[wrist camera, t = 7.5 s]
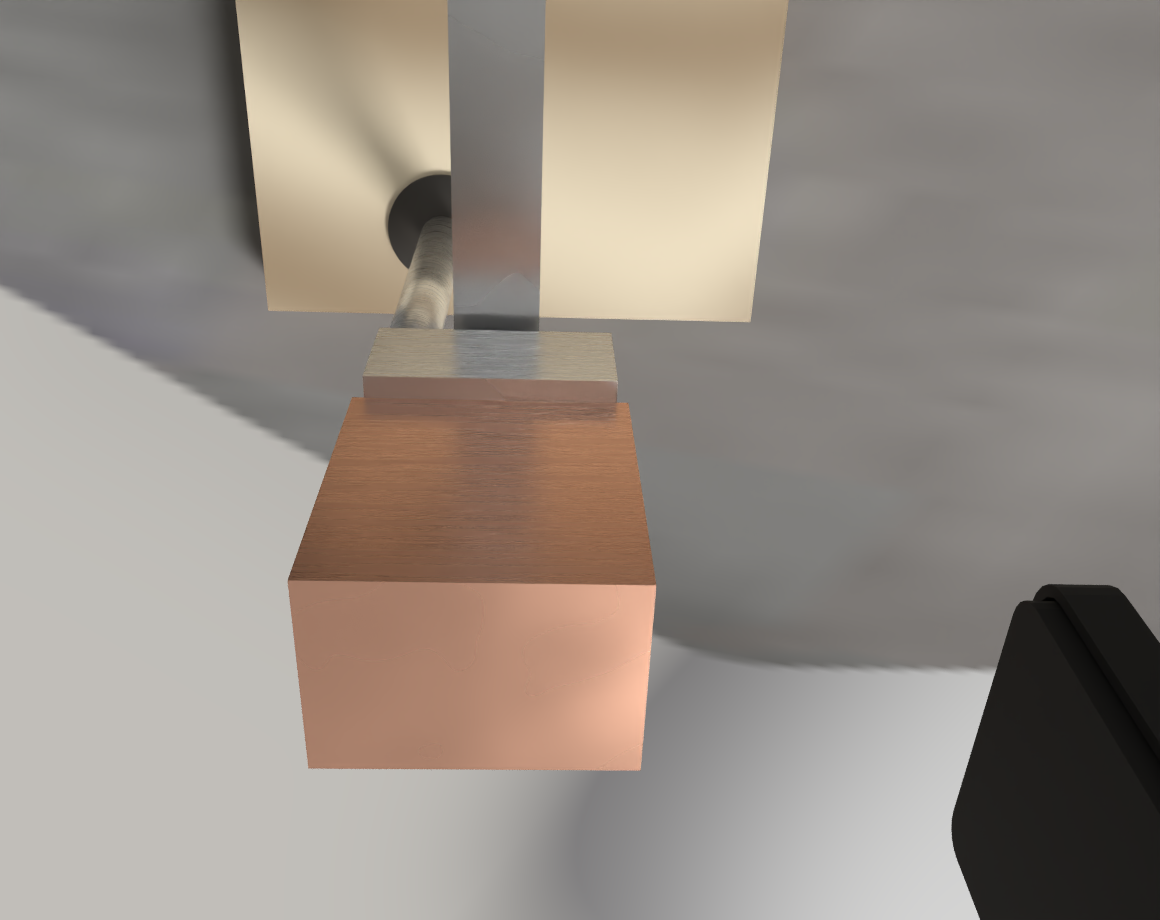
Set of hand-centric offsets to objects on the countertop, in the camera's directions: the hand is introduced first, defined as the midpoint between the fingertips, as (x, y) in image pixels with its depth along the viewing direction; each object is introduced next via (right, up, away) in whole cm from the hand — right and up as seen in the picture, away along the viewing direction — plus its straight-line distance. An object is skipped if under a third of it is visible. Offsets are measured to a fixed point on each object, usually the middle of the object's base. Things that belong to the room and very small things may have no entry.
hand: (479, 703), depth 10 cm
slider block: (-1, +7, +14) cm, 16 cm away
